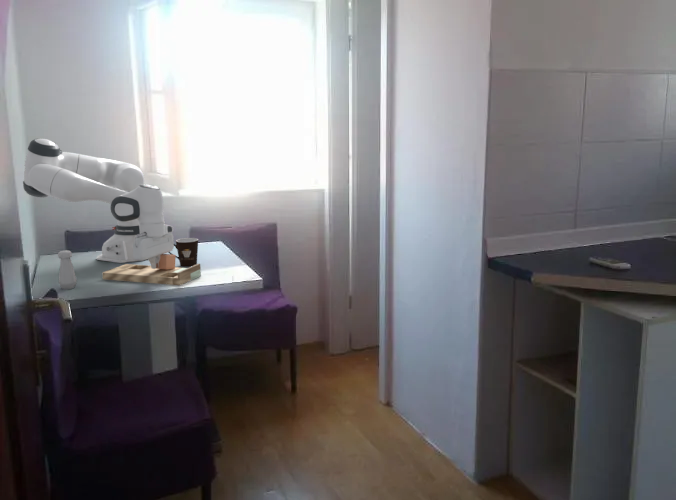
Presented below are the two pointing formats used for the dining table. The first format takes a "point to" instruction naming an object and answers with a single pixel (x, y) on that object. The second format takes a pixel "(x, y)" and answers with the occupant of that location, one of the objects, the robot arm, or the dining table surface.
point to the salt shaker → (66, 271)
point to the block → (167, 261)
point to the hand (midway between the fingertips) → (155, 268)
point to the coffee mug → (187, 251)
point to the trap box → (152, 274)
